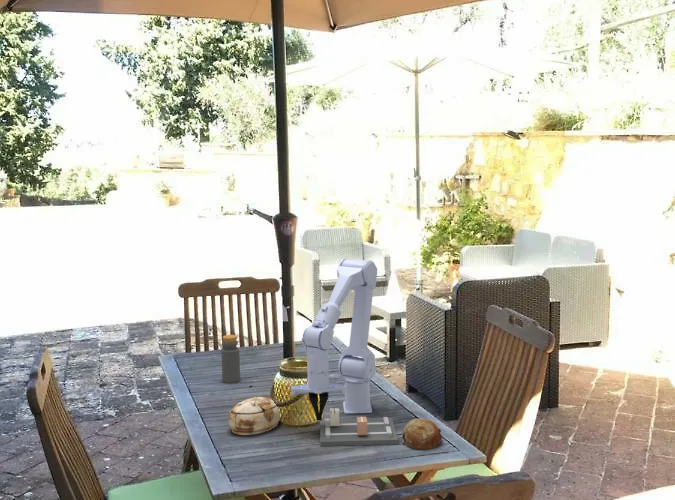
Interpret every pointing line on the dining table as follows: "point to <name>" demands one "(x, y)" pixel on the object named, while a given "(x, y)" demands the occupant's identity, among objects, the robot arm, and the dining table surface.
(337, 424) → the fader
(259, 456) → the dining table surface
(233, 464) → the dining table surface
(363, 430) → the fader
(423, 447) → the bread roll
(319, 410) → the robot arm
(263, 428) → the trinket box
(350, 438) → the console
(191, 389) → the dining table surface
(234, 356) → the bottle
